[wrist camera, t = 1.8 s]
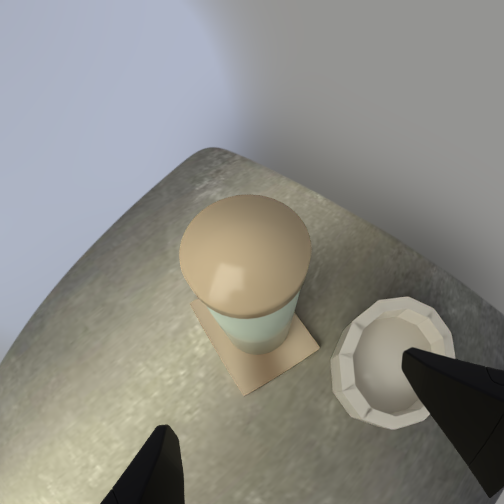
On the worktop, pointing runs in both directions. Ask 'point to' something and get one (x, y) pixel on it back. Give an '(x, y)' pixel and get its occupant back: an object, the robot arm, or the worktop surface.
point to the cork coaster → (256, 366)
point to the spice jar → (248, 267)
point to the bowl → (386, 361)
